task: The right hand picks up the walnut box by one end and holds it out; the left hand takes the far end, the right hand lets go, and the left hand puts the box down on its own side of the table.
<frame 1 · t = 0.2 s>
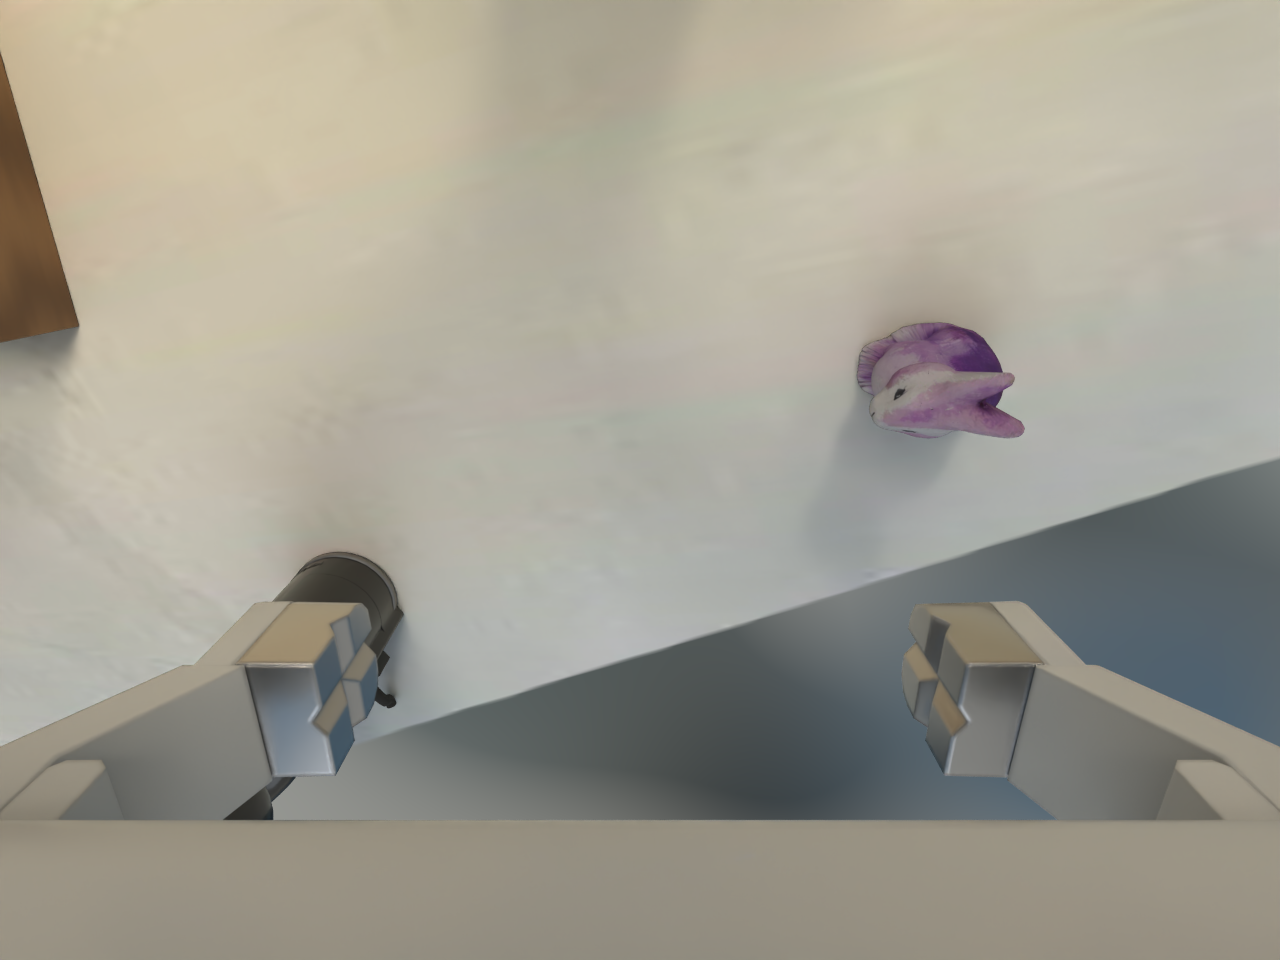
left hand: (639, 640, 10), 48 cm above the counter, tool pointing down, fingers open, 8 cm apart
figurine: (908, 372, 57), on the counter
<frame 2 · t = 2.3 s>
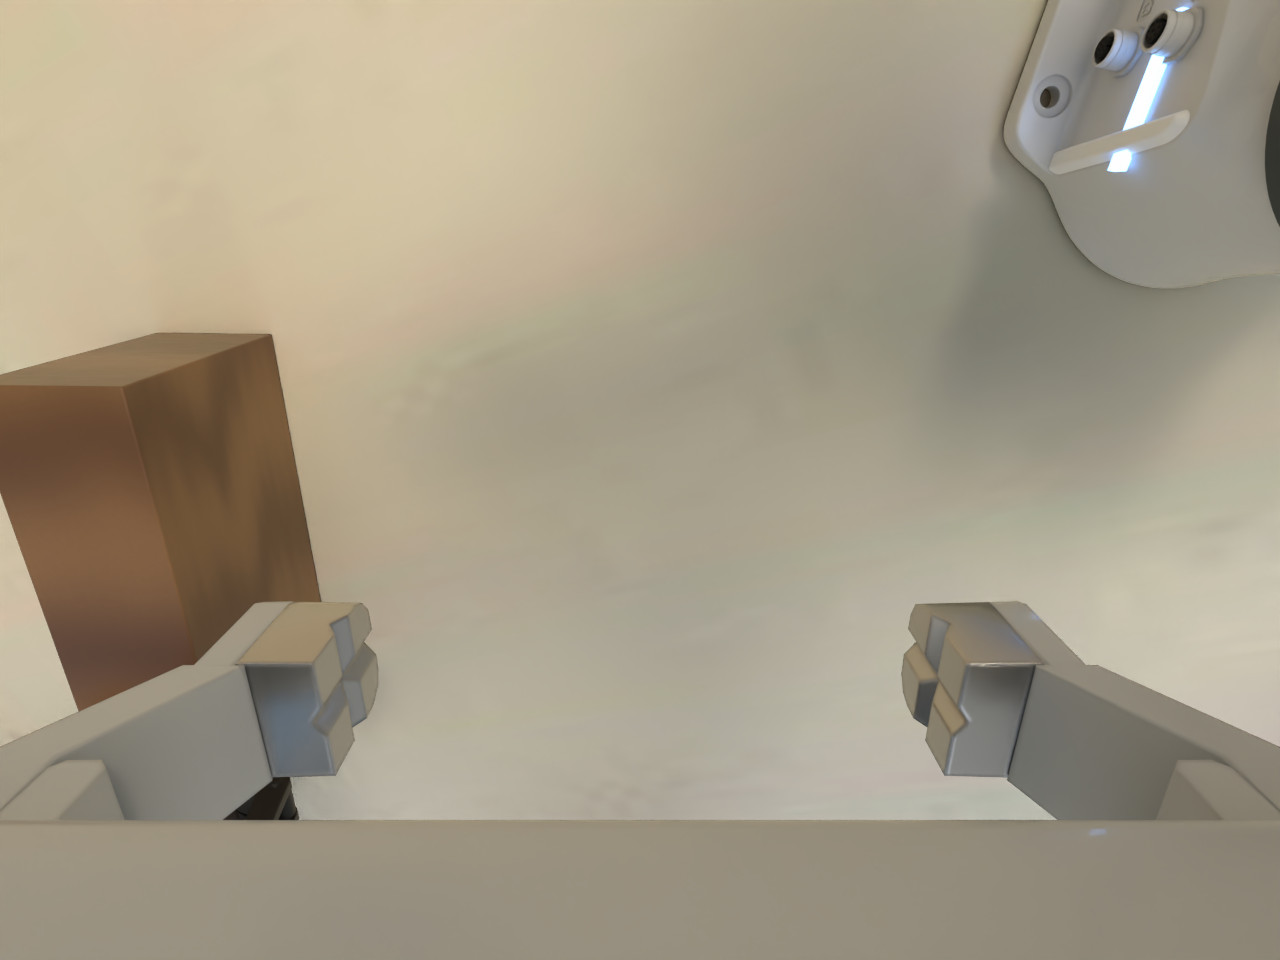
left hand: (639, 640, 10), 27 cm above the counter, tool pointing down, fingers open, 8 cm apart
box: (257, 535, 40), on the counter, touching right hand
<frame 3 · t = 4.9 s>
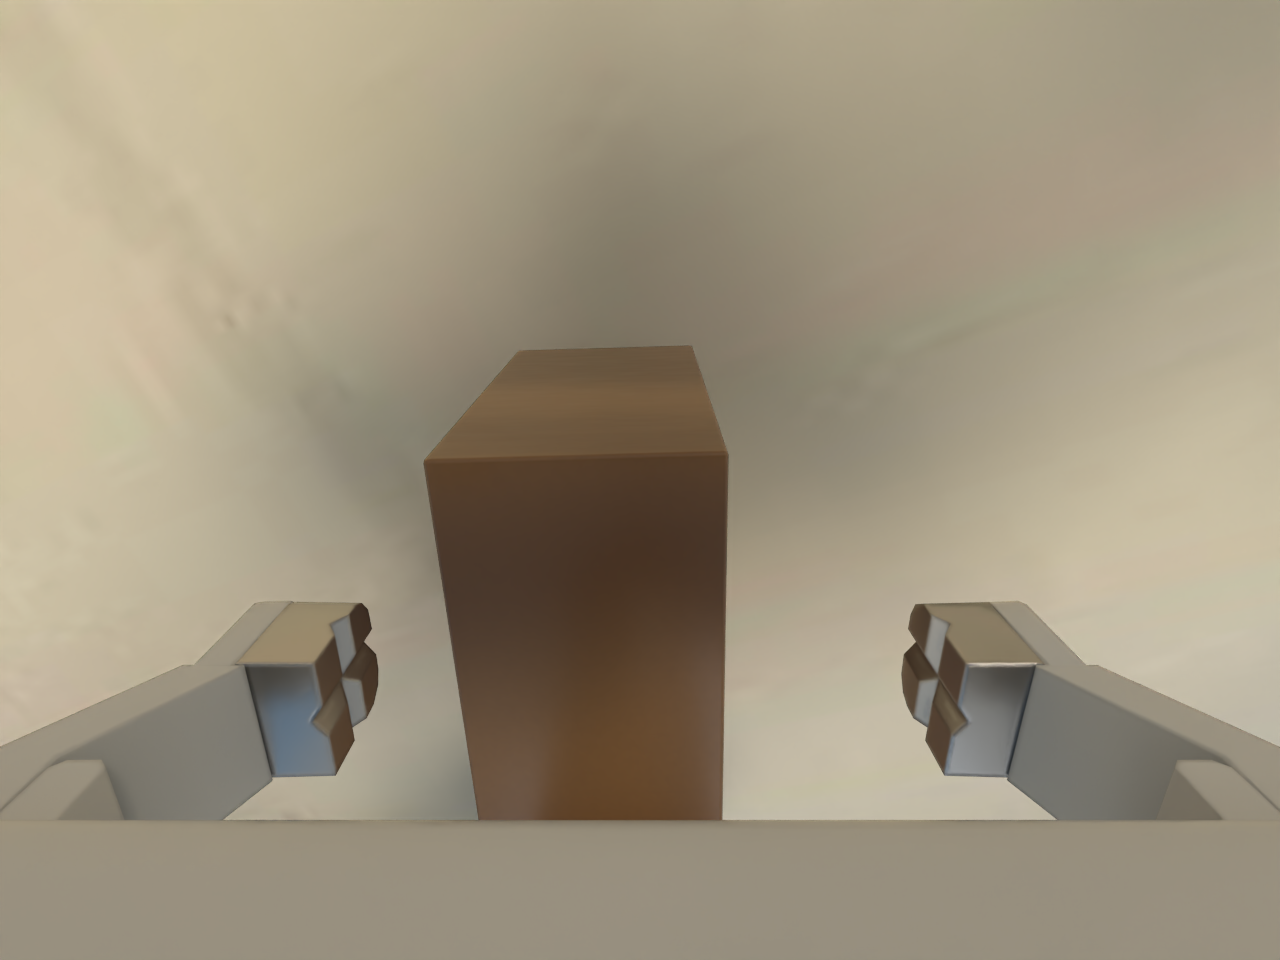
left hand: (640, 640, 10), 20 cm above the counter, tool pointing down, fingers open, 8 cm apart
box: (619, 634, 28), point 5 cm above the counter, touching right hand
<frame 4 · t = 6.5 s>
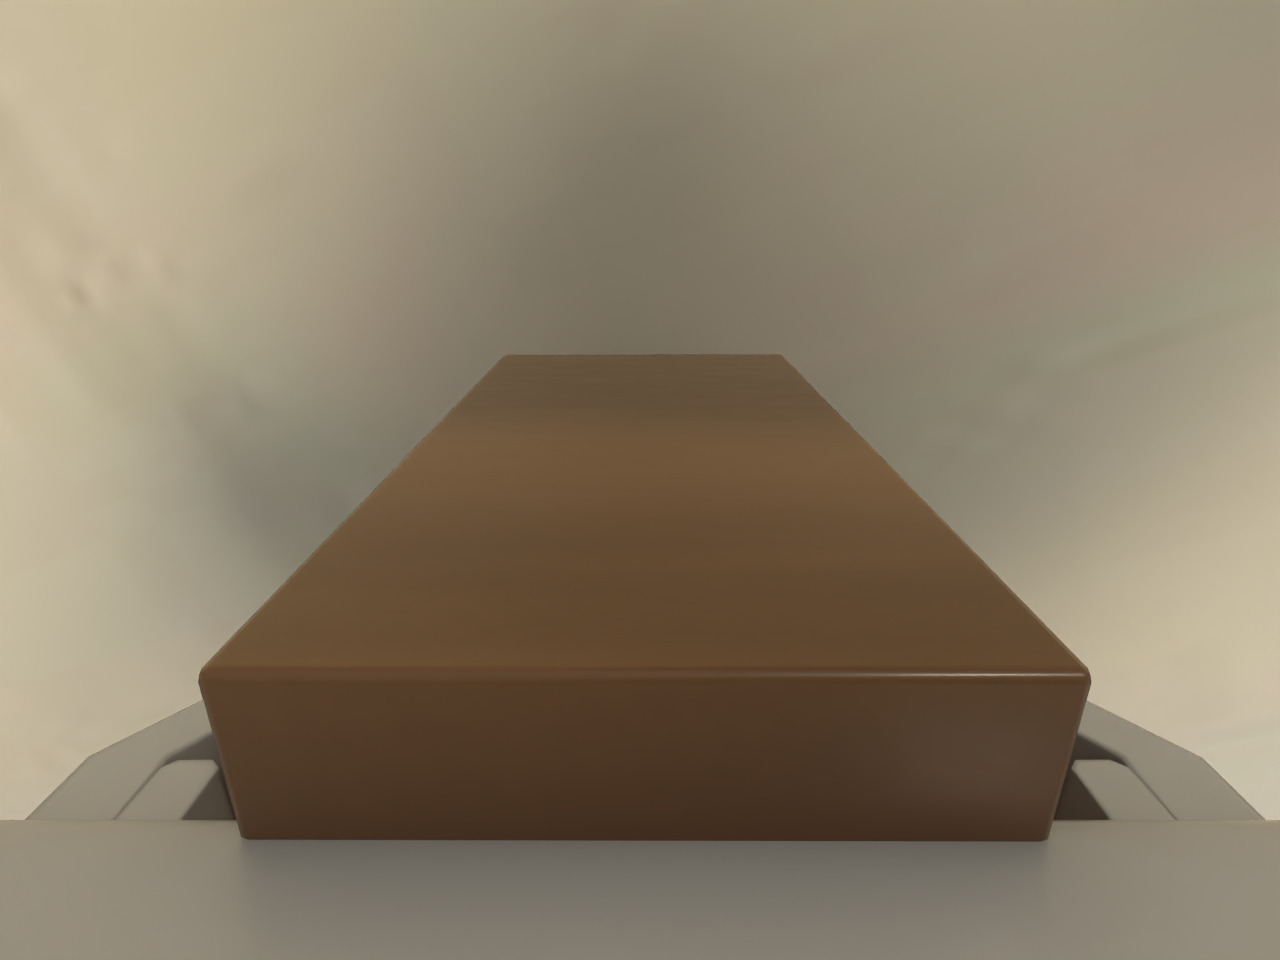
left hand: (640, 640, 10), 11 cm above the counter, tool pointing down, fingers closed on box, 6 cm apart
box: (643, 776, 19), point 5 cm above the counter, touching left hand, right hand
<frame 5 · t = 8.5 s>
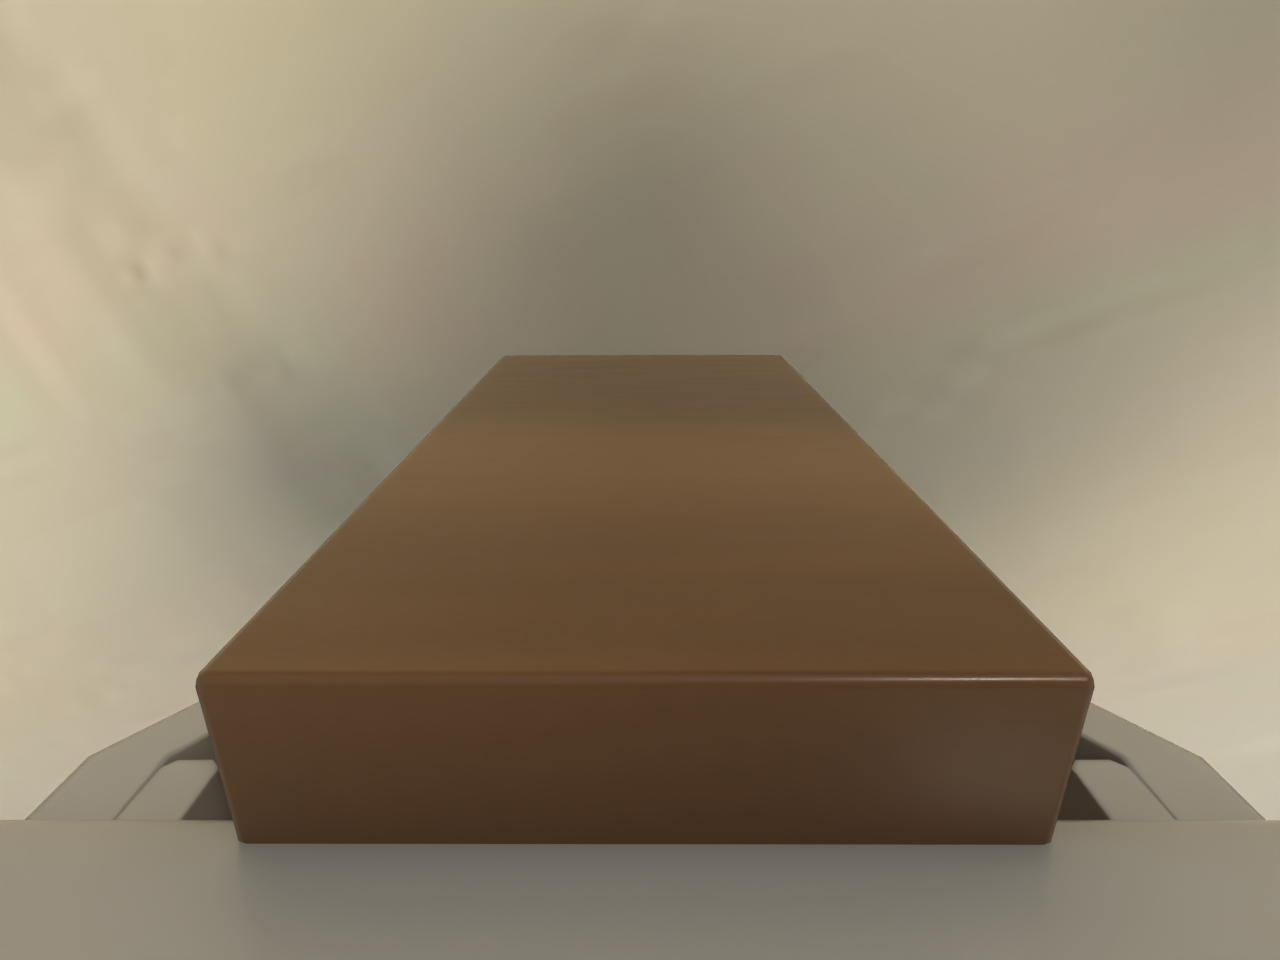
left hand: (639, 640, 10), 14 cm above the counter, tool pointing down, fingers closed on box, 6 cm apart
box: (642, 777, 19), point 8 cm above the counter, touching left hand
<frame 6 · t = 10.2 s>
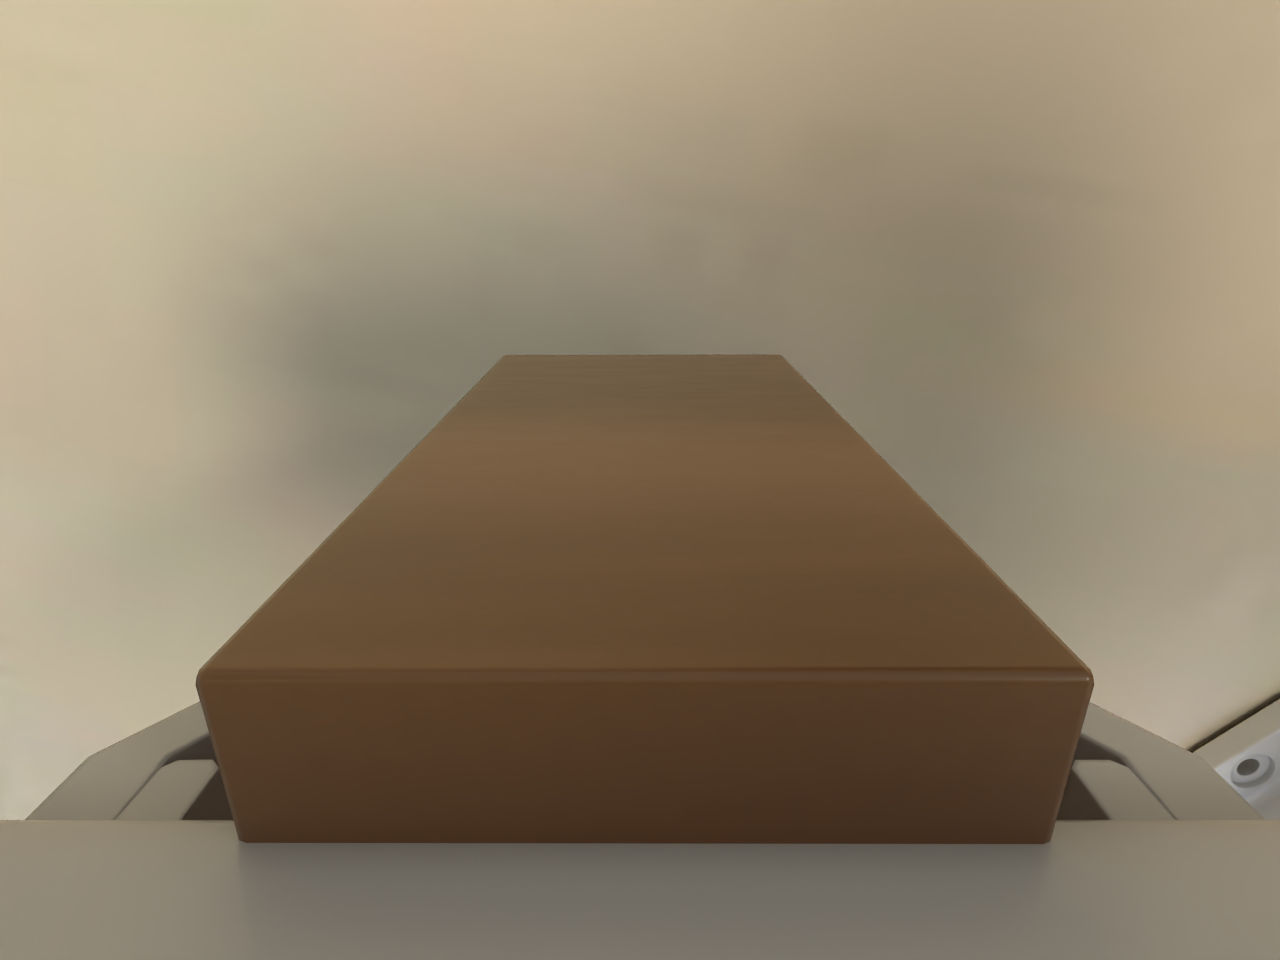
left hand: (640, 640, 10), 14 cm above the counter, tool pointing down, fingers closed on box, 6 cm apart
box: (642, 777, 19), point 8 cm above the counter, touching left hand
when the left hand's fingers open (7 cm above the counter, at t = 11.6 s): box stays where it is, on the counter.
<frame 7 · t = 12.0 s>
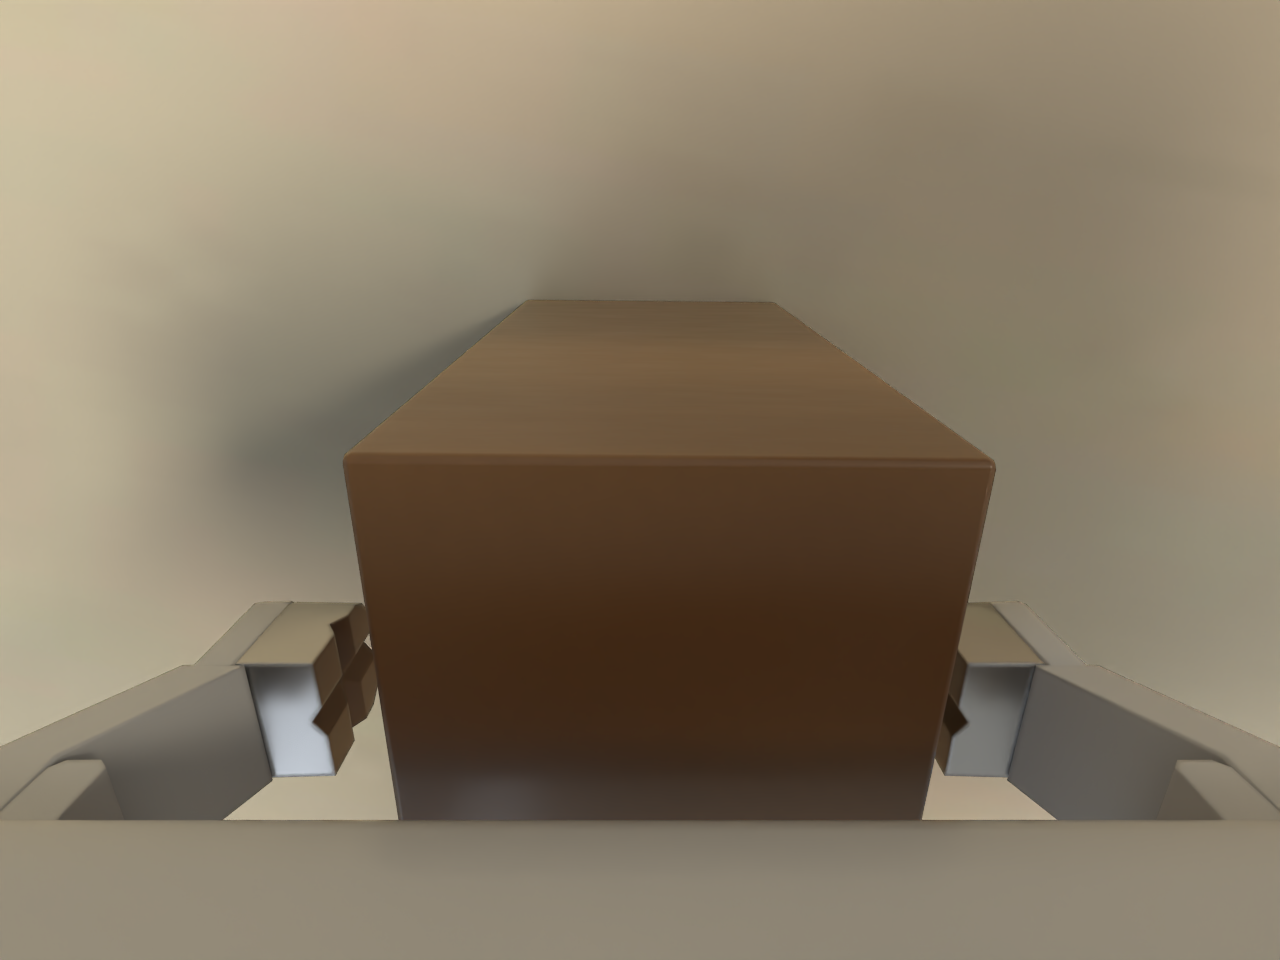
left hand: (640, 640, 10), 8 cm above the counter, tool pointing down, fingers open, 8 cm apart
box: (644, 697, 21), on the counter
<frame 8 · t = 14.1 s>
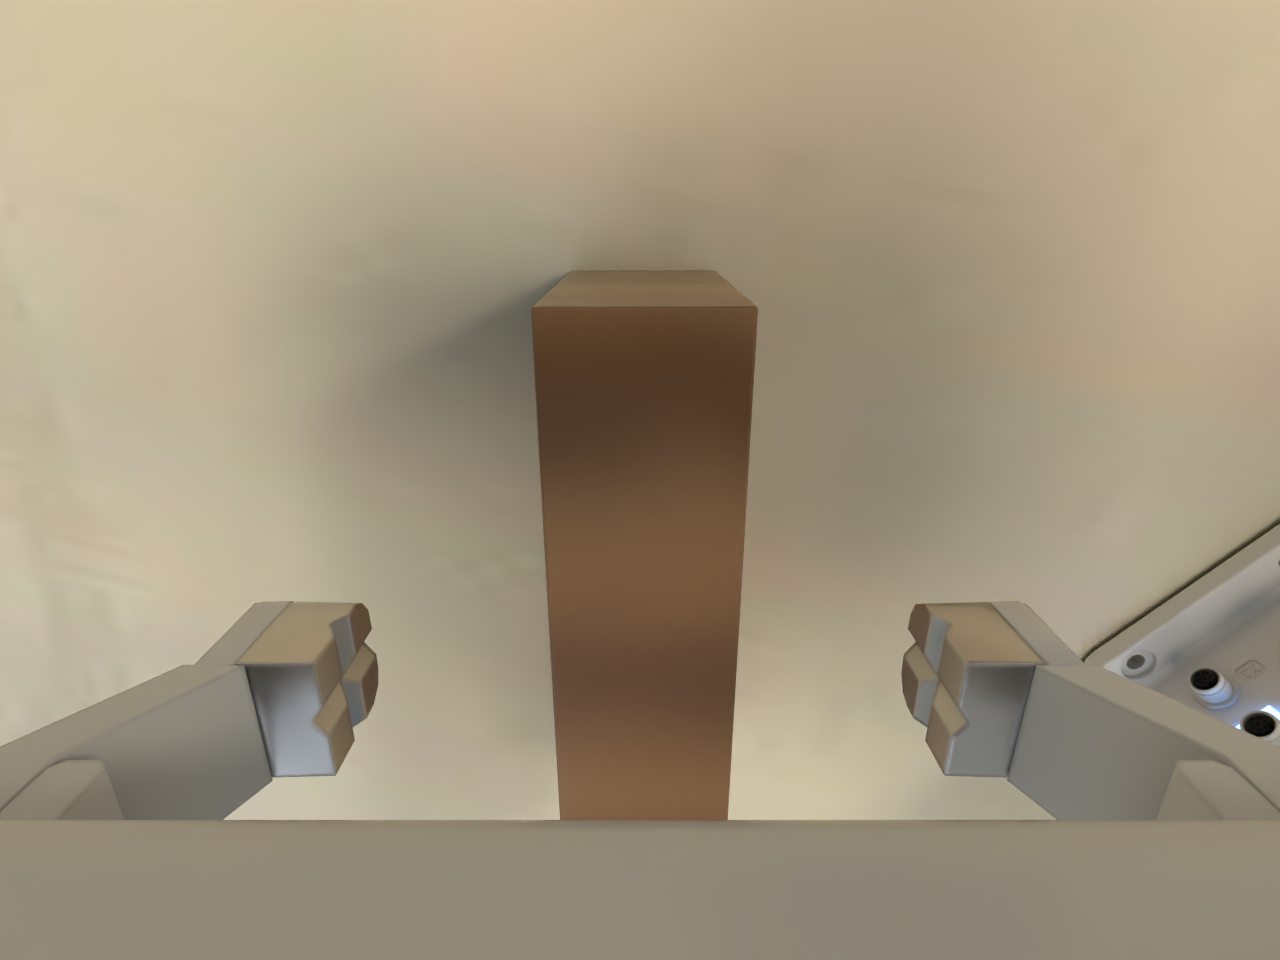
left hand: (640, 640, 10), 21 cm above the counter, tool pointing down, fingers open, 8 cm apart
box: (642, 526, 33), on the counter
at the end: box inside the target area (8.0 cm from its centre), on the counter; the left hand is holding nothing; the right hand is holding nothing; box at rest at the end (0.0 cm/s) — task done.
